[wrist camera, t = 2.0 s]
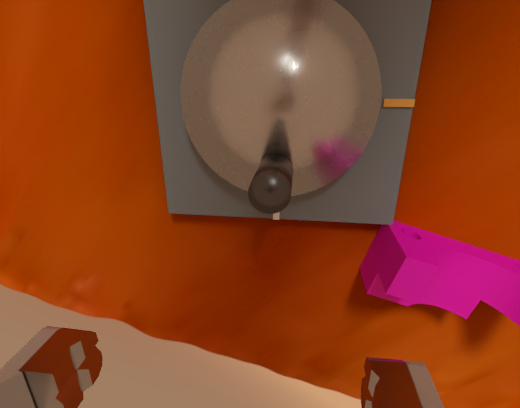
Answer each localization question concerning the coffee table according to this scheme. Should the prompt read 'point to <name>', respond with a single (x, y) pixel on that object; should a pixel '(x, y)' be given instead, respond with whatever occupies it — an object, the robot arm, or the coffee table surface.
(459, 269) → the toy block
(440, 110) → the coffee table surface
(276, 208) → the dial
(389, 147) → the dial plate
